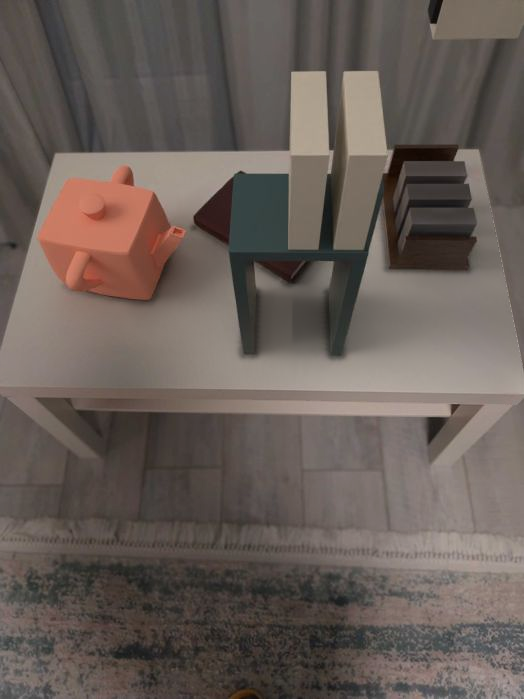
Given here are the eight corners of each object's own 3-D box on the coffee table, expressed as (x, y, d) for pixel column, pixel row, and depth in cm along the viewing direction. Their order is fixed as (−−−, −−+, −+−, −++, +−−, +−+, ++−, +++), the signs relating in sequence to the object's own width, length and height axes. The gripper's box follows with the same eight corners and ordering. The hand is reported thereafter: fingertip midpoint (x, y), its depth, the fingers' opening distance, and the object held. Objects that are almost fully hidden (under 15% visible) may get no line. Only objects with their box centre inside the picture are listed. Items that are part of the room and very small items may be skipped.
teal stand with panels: (338, 292, 75) (384, 68, 43) (341, 355, 71) (394, 157, 38) (246, 291, 76) (222, 69, 43) (243, 354, 71) (214, 158, 39)
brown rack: (467, 269, 76) (490, 231, 68) (388, 269, 77) (402, 231, 69) (450, 177, 85) (468, 133, 76) (379, 177, 85) (390, 134, 77)
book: (289, 286, 76) (290, 274, 73) (194, 227, 81) (191, 214, 78) (335, 233, 80) (337, 220, 77) (241, 181, 86) (240, 166, 83)
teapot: (49, 314, 75) (3, 259, 62) (101, 204, 84) (70, 137, 72) (174, 338, 73) (153, 286, 60) (214, 222, 82) (202, 156, 69)
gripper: (715, -308, 39) (569, -5, 59) (427, -295, 40) (379, -1, 60) (754, -276, 36) (585, 34, 56) (439, -263, 37) (383, 37, 57)
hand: (478, 16), depth 58 cm, fingers closed on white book, 10 cm apart
